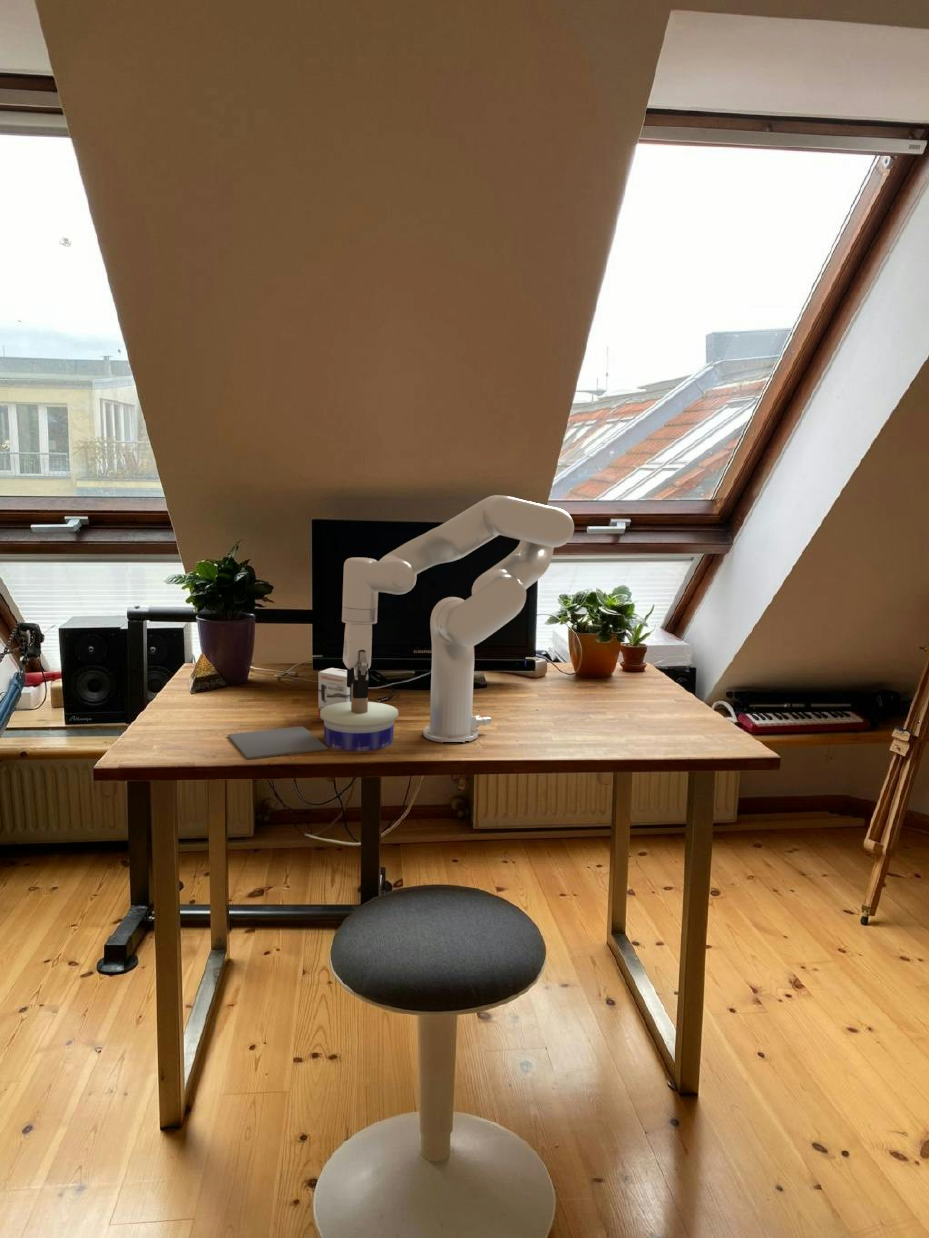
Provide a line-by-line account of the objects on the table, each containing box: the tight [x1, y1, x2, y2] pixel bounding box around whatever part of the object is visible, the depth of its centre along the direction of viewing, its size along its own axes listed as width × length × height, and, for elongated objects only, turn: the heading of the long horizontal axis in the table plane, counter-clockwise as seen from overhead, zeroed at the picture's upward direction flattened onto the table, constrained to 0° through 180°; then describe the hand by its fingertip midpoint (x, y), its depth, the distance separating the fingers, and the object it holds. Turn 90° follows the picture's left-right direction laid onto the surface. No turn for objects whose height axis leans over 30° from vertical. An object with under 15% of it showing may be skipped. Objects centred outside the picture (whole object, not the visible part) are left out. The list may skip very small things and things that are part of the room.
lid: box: [320, 684, 399, 727], centre depth 189 cm, size 17×17×7 cm
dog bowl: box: [323, 720, 395, 752], centre depth 190 cm, size 15×15×6 cm
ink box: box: [317, 667, 351, 720], centre depth 206 cm, size 8×5×12 cm, turn 60°
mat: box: [227, 725, 328, 760], centre depth 187 cm, size 17×17×1 cm
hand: (356, 692), depth 189 cm, fingers open, 9 cm apart
